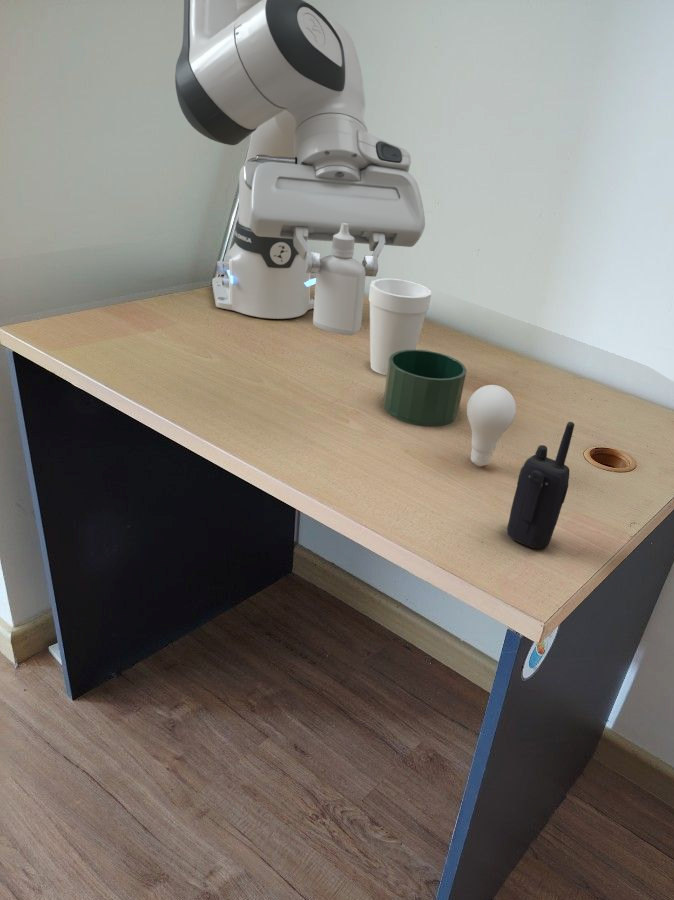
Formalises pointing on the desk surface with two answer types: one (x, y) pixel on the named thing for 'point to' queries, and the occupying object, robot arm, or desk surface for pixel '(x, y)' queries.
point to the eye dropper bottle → (340, 288)
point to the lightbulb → (489, 420)
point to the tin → (424, 387)
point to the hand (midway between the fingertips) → (342, 272)
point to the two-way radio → (540, 495)
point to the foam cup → (395, 318)
